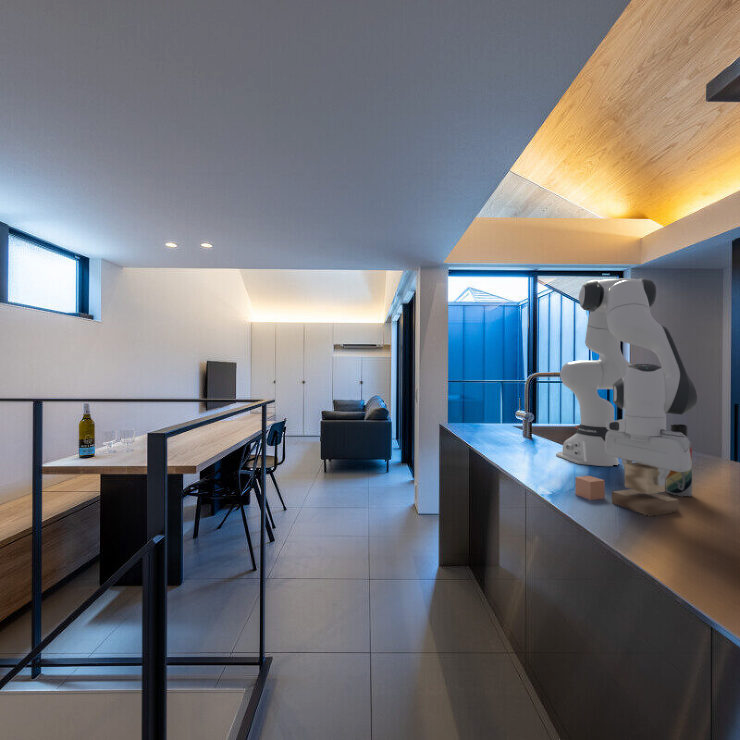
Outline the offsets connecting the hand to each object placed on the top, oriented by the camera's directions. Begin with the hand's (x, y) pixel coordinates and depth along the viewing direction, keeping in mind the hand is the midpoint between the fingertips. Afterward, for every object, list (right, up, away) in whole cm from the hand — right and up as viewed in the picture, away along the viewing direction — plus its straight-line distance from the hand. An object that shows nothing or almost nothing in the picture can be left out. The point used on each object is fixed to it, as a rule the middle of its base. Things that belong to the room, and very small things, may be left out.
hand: (644, 480), depth 98 cm
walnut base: (0, -7, 0) cm, 7 cm away
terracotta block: (-9, -7, +9) cm, 14 cm away
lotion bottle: (+18, -7, +11) cm, 22 cm away
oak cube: (0, -2, 0) cm, 2 cm away
